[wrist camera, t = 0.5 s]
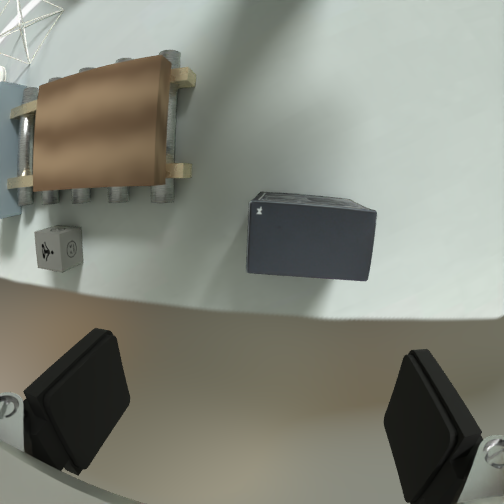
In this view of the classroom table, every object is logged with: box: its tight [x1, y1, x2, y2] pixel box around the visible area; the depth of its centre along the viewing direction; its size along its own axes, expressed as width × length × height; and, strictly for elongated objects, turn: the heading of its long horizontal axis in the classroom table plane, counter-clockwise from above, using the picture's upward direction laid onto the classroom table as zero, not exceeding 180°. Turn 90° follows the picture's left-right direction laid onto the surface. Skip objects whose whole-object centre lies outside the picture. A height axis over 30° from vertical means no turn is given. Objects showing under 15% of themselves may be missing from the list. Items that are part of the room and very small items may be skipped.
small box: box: [246, 192, 377, 281], centre depth 29 cm, size 11×6×10 cm, turn 87°
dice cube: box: [35, 226, 83, 272], centre depth 36 cm, size 5×5×5 cm
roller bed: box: [7, 50, 196, 206], centre depth 33 cm, size 18×30×3 cm, turn 88°
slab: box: [33, 55, 172, 192], centre depth 29 cm, size 14×18×3 cm
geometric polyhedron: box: [0, 0, 64, 64], centre depth 26 cm, size 12×11×9 cm
